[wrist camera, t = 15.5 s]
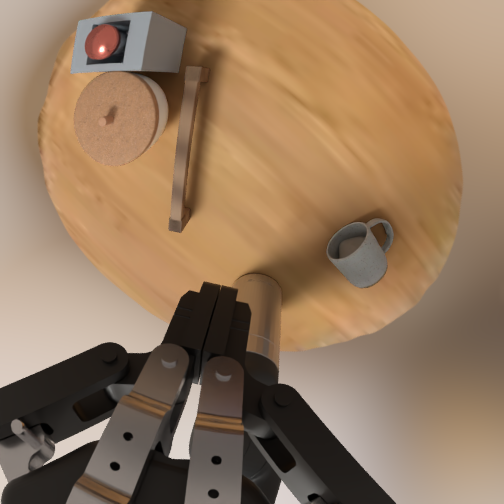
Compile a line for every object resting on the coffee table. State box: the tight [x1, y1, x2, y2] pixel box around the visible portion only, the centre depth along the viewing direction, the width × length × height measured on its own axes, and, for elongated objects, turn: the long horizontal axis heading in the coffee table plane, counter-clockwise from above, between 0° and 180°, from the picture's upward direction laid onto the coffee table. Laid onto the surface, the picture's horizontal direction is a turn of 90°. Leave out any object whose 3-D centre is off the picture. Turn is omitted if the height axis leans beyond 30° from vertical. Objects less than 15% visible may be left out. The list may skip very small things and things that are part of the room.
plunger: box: [85, 24, 128, 60], centre depth 23 cm, size 4×4×6 cm
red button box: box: [71, 11, 187, 74], centre depth 27 cm, size 8×10×12 cm
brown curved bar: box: [169, 66, 210, 233], centre depth 39 cm, size 24×2×4 cm, turn 169°
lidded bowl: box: [74, 71, 168, 166], centre depth 33 cm, size 13×13×11 cm
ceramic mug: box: [326, 218, 393, 288], centre depth 42 cm, size 11×8×8 cm
